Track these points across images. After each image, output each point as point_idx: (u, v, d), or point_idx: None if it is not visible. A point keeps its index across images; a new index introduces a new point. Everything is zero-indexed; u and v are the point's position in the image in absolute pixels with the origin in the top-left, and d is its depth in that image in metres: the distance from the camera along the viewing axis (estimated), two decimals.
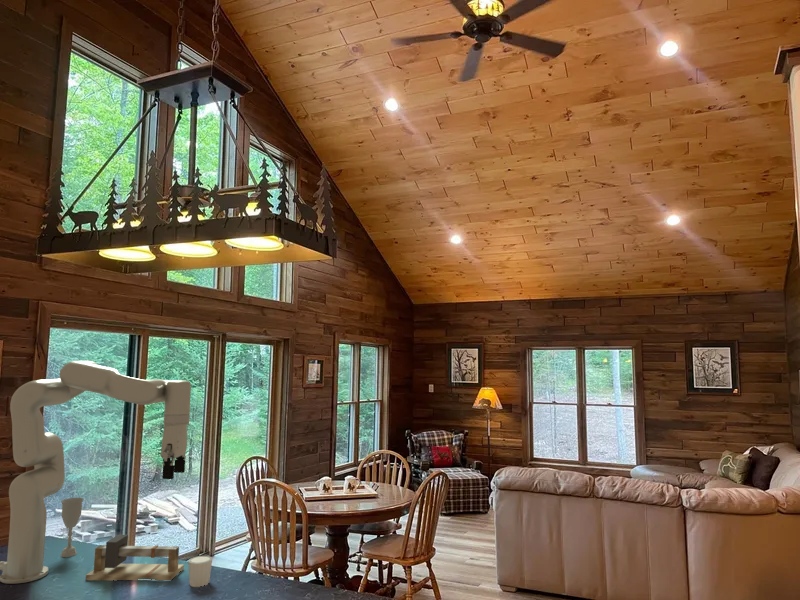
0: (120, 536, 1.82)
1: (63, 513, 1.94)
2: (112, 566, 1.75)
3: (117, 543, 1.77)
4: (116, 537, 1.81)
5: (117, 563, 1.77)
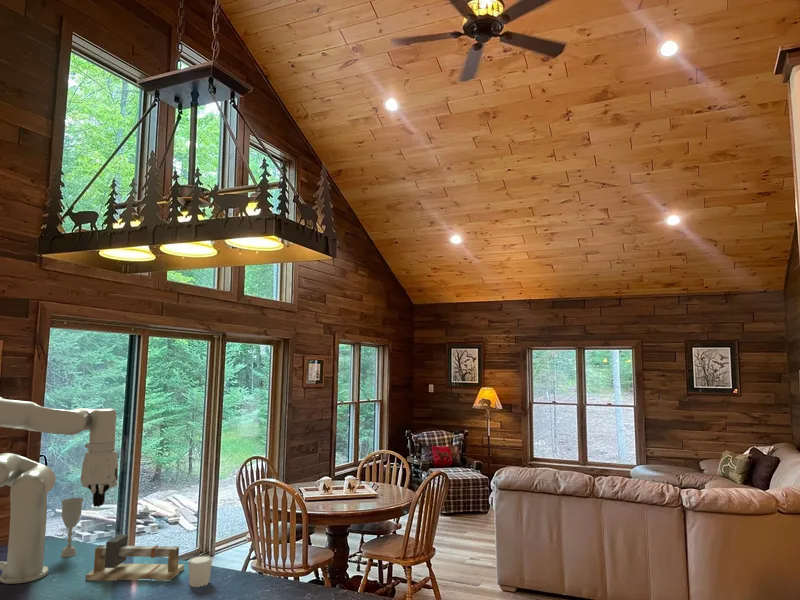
0: (120, 536, 1.82)
1: (63, 513, 1.94)
2: (112, 566, 1.75)
3: (117, 543, 1.77)
4: (116, 537, 1.81)
5: (117, 563, 1.77)
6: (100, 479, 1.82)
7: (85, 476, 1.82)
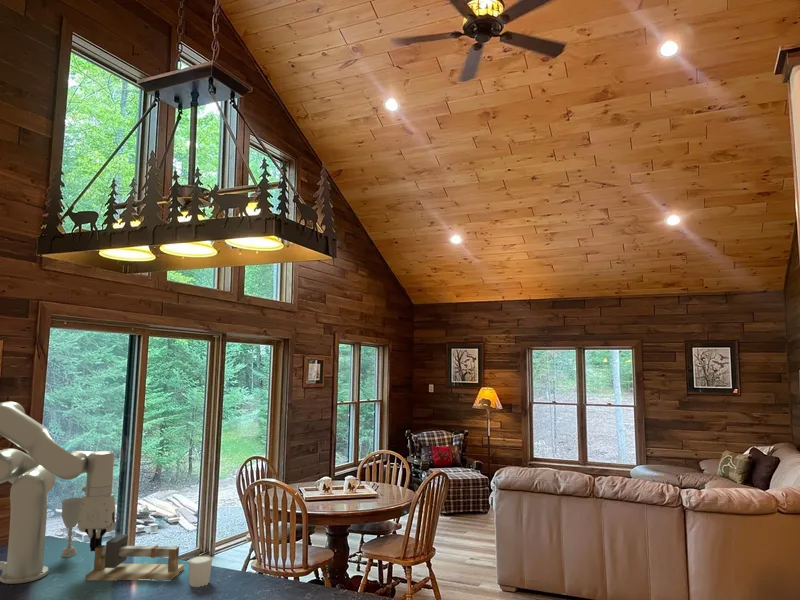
0: (120, 536, 1.82)
1: (63, 513, 1.94)
2: (112, 566, 1.75)
3: (117, 543, 1.77)
4: (116, 537, 1.81)
5: (117, 563, 1.77)
6: (97, 524, 1.80)
7: (82, 520, 1.81)
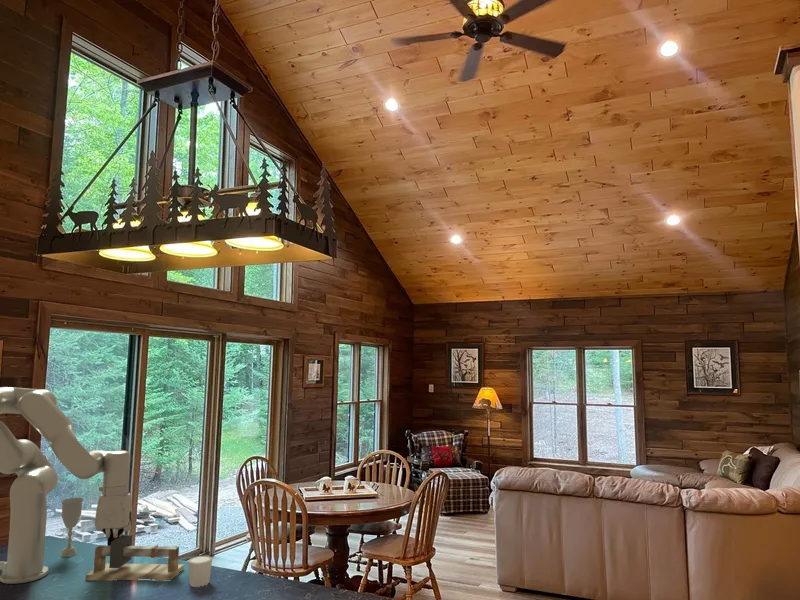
0: (124, 536, 1.82)
1: (63, 513, 1.94)
2: (117, 566, 1.75)
3: (121, 543, 1.77)
4: (121, 537, 1.81)
5: (122, 563, 1.77)
6: (115, 523, 1.81)
7: (99, 520, 1.81)
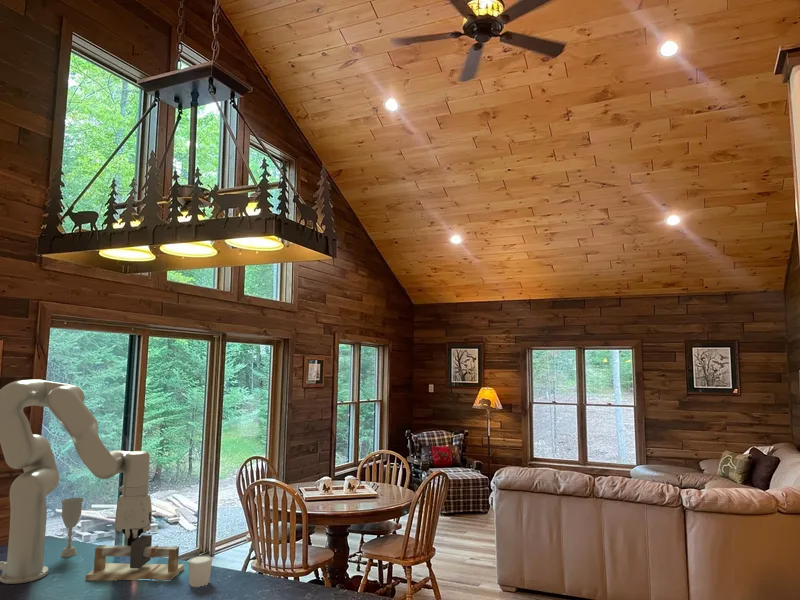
0: (144, 536, 1.82)
1: (63, 513, 1.94)
2: (137, 566, 1.75)
3: (142, 543, 1.77)
4: (141, 537, 1.81)
5: (142, 563, 1.77)
6: (134, 524, 1.80)
7: (119, 520, 1.81)
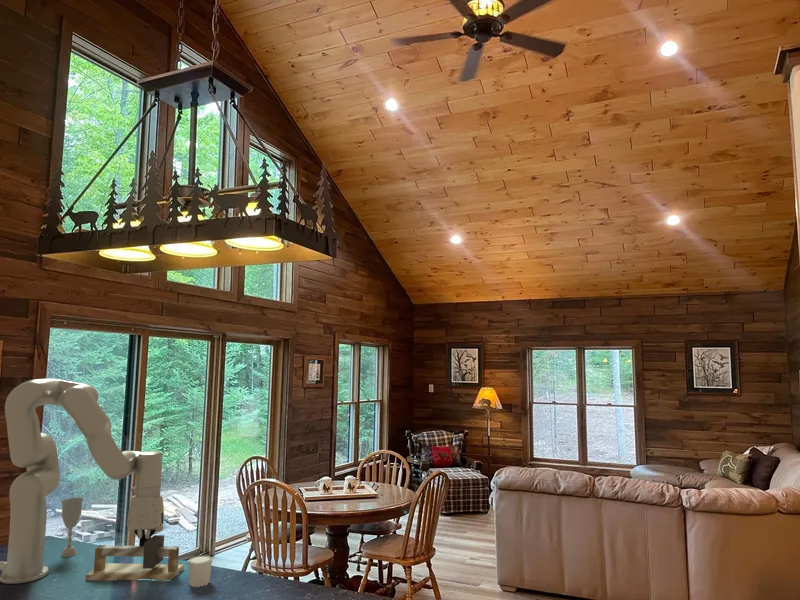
0: (156, 536, 1.82)
1: (63, 513, 1.94)
2: (150, 567, 1.75)
3: (155, 544, 1.77)
4: (153, 537, 1.81)
5: (155, 564, 1.77)
6: (147, 524, 1.80)
7: (132, 521, 1.81)
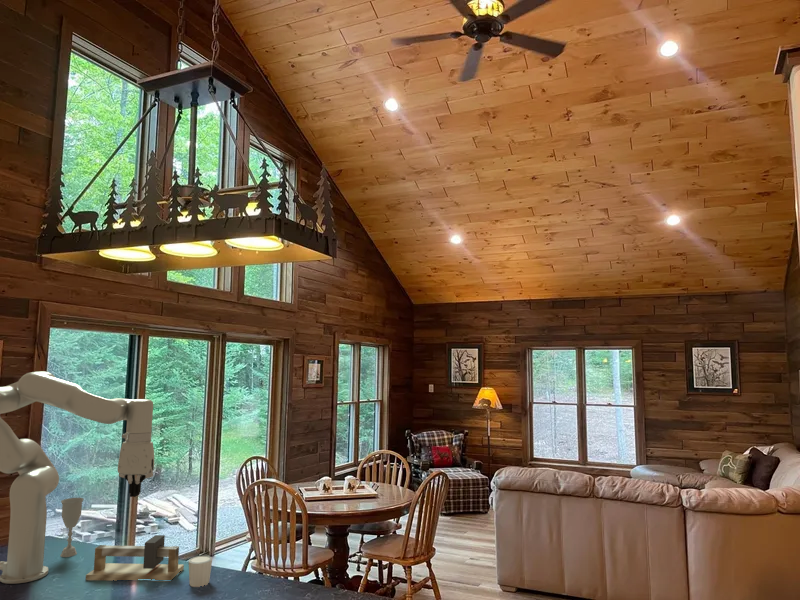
0: (157, 536, 1.82)
1: (63, 513, 1.94)
2: (151, 567, 1.75)
3: (155, 544, 1.77)
4: (154, 537, 1.81)
5: (155, 564, 1.77)
6: (137, 469, 1.82)
7: (122, 466, 1.82)
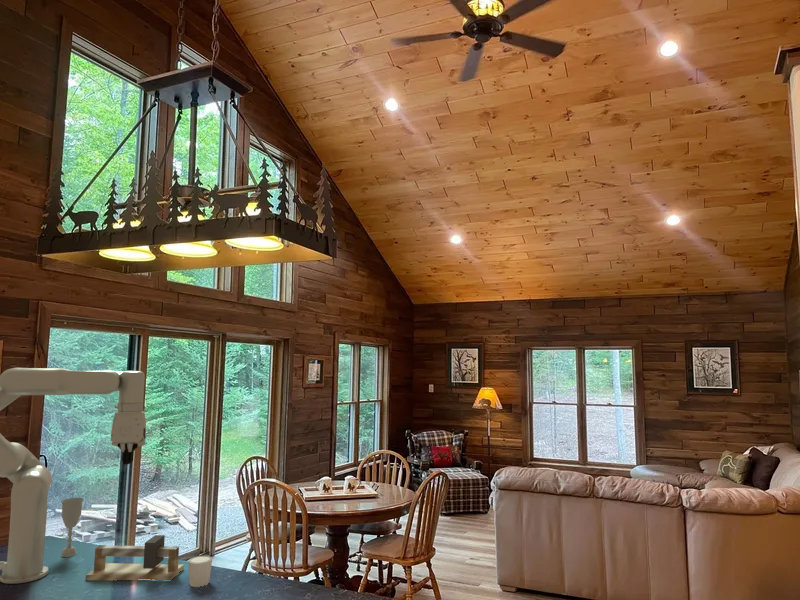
0: (157, 536, 1.82)
1: (63, 513, 1.94)
2: (151, 567, 1.75)
3: (155, 544, 1.77)
4: (154, 537, 1.81)
5: (155, 564, 1.77)
6: (129, 437, 1.89)
7: (115, 435, 1.89)
